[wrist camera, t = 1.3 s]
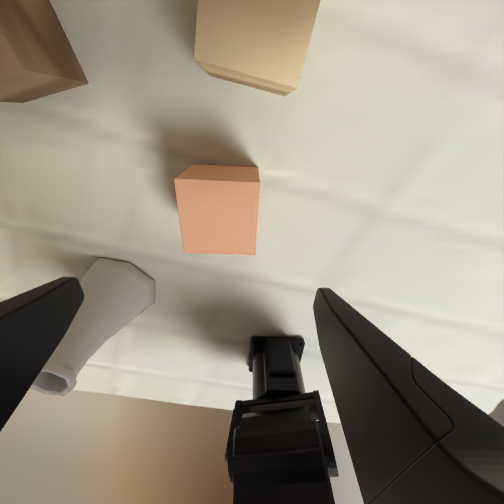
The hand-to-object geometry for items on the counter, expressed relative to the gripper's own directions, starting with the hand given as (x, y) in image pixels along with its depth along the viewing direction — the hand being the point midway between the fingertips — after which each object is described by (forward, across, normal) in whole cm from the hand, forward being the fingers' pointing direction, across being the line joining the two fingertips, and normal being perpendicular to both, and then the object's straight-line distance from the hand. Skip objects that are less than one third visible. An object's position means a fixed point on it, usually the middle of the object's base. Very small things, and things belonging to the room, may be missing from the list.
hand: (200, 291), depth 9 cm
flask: (+12, +11, +10) cm, 19 cm away
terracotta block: (+12, 0, 0) cm, 12 cm away
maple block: (+12, -2, -10) cm, 16 cm away
